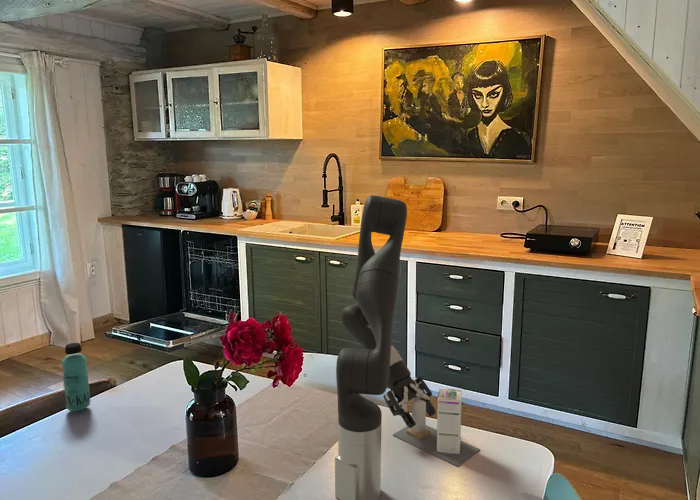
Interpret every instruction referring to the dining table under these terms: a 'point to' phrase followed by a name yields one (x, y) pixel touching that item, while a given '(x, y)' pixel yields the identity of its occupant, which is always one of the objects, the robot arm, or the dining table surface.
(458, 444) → the syrup box
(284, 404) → the dining table surface
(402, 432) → the candle tray
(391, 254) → the robot arm
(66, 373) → the beverage bottle
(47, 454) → the dining table surface
